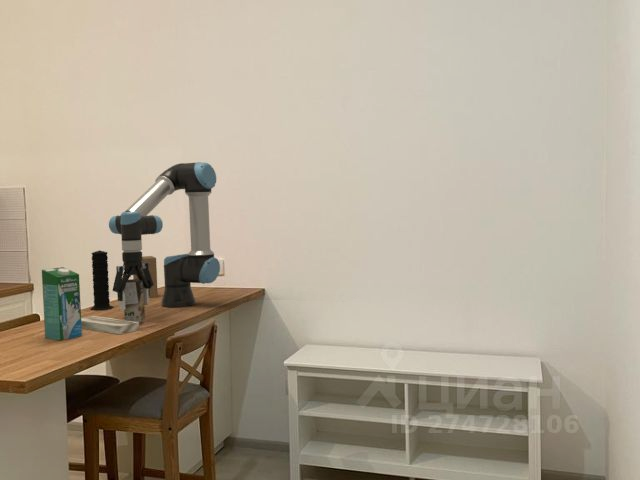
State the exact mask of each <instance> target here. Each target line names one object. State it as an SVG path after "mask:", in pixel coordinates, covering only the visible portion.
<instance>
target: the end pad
mask: <svg viewBox="0 0 640 480" xmlns="http://www.w3.org/2000/svg"><path fill="white" fill-rule="evenodd" d="M158 325H159V323H156V322H149V321H141V322H140V323H139V330H140V329H141V330H142V329H145V328H149V327H154V326H158Z"/></svg>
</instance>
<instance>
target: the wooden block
mask: <svg viewBox="0 0 640 480" xmlns="http://www.w3.org/2000/svg"><path fill="white" fill-rule="evenodd" d="M141 262H142V263H148V266H149V271H150V275H151V278H152V281H153V284H154V285H153V286H151V288H149V290H150V296H149V299H153V297H155V298H158V296H159V295H158V271H157V270H158V269H157V258H156V257H155V256H153V255H148V256H147V255H146V256H145V255H143V256H142V261H141ZM141 270H142V268H141ZM142 272H143V270H142ZM143 275H144V273H143ZM132 276H133V278H132V279H139V278H138V277H137V275H132ZM144 277H145V276H144Z"/></svg>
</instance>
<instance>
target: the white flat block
mask: <svg viewBox="0 0 640 480" xmlns="http://www.w3.org/2000/svg"><path fill="white" fill-rule="evenodd" d="M81 325H82V329H83V330H84V329H85V330H90V331H95V332H102V333H107V334H114V335H124V334H128V333H133V332H137V331H140V328H139V322H134V321H127V320H124V319H119V318H112V317H104V316H97V315H90V316H84V317H81Z"/></svg>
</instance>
